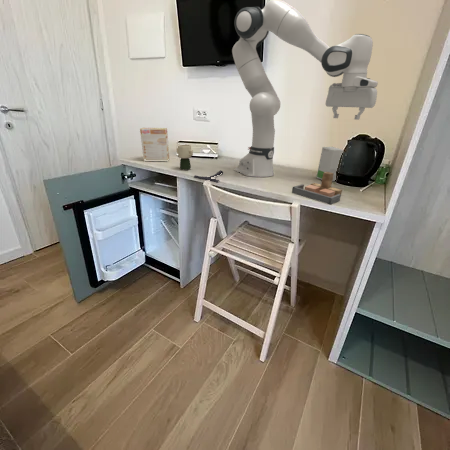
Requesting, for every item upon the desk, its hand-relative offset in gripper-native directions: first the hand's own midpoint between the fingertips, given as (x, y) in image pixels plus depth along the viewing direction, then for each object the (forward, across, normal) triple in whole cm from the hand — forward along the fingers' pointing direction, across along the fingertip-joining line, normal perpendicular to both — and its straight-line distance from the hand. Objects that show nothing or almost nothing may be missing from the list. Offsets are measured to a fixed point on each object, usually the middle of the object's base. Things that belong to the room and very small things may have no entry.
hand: (345, 118), depth 113 cm
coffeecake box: (+29, -96, -43) cm, 109 cm away
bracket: (+30, -44, -38) cm, 65 cm away
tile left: (+29, +2, -21) cm, 36 cm away
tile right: (+29, +8, -21) cm, 37 cm away
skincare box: (+29, -6, +5) cm, 30 cm away
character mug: (+29, -66, -41) cm, 83 cm away
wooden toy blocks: (+29, +5, -16) cm, 34 cm away
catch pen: (+29, +5, -24) cm, 38 cm away
